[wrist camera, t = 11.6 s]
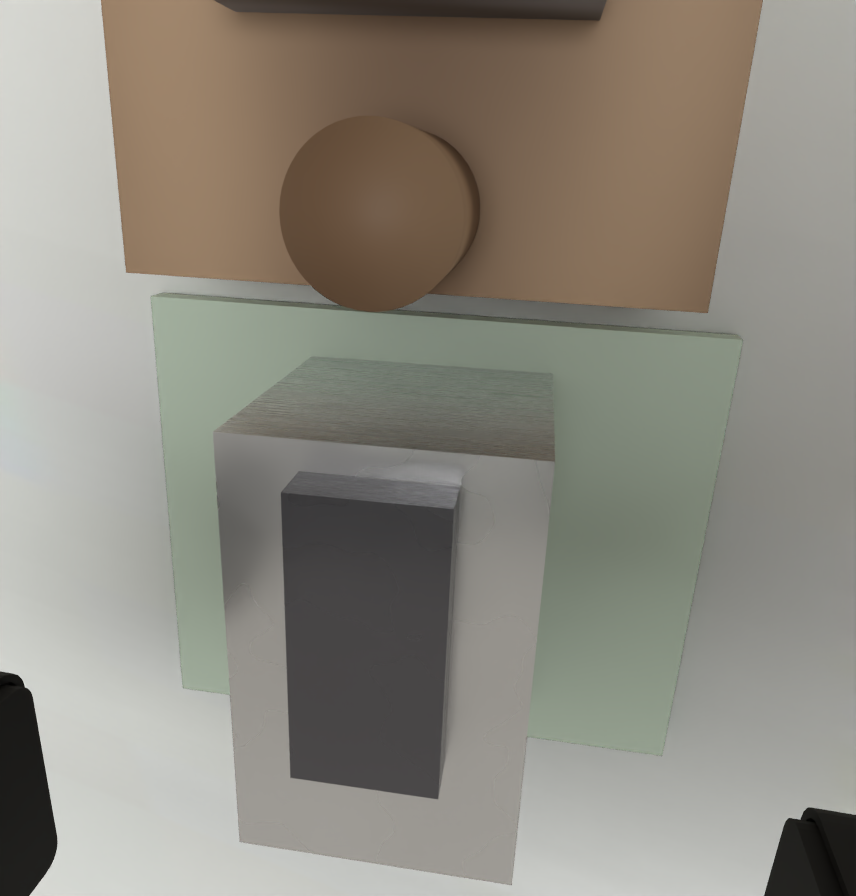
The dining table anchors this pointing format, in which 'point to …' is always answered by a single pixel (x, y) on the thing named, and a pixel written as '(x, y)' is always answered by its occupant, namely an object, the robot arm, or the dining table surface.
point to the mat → (573, 494)
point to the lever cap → (385, 608)
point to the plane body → (431, 145)
